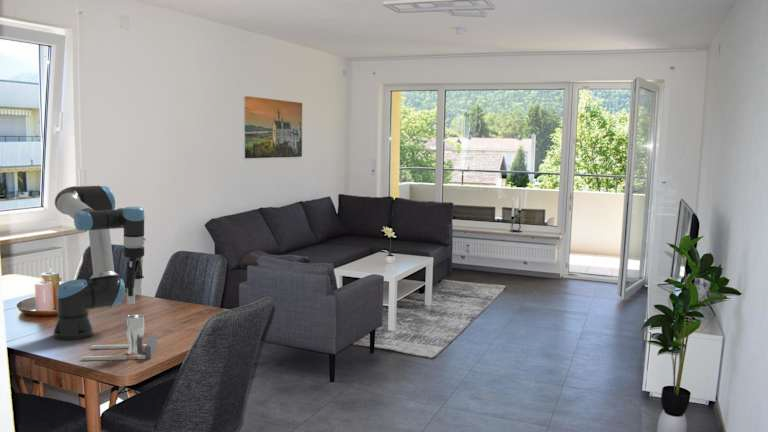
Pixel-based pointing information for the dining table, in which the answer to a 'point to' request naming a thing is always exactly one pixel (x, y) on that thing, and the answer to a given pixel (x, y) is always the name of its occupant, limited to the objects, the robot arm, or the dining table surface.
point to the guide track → (148, 347)
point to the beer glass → (135, 333)
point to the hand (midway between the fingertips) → (134, 299)
